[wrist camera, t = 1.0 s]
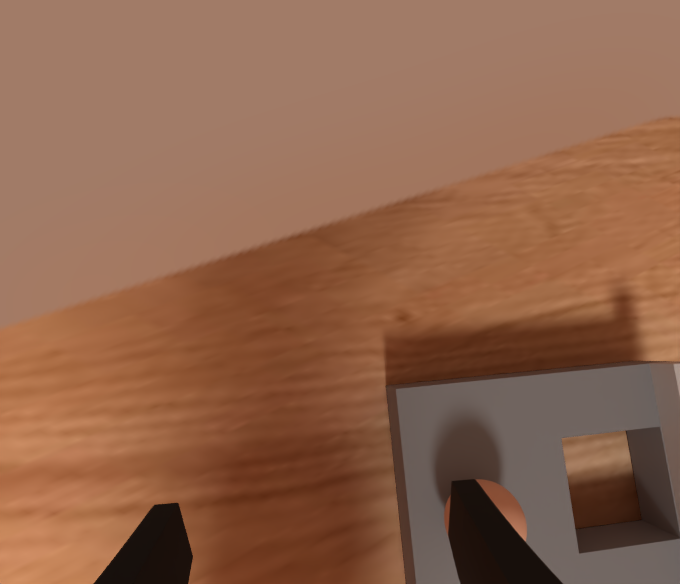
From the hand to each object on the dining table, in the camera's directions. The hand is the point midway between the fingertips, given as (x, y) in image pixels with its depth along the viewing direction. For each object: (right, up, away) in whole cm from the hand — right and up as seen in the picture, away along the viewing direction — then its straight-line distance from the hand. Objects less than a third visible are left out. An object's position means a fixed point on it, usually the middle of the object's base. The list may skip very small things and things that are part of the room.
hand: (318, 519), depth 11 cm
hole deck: (+11, -5, +12) cm, 17 cm away
